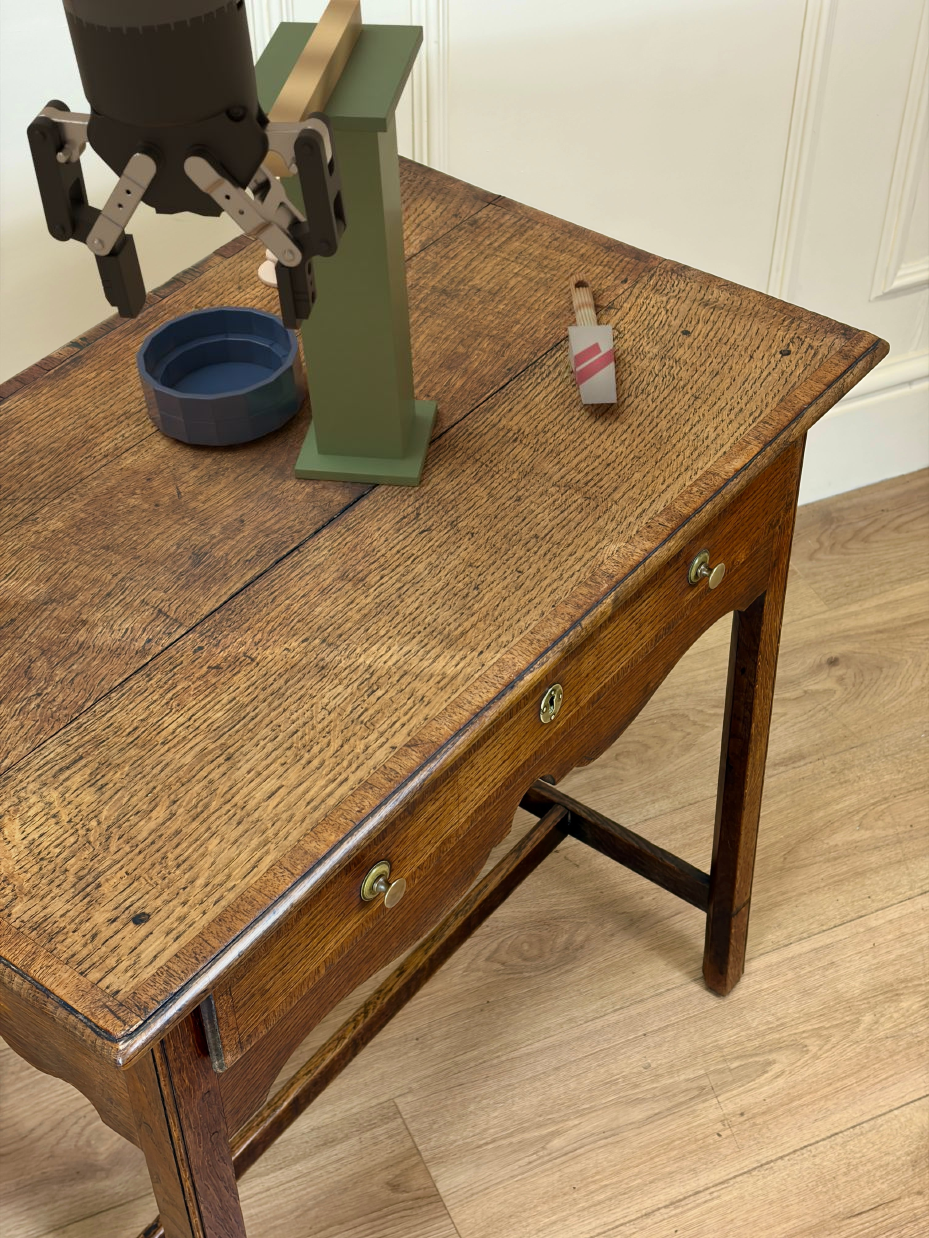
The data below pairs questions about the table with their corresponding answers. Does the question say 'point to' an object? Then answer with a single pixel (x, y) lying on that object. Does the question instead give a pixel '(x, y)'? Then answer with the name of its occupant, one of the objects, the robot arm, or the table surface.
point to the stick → (316, 70)
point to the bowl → (221, 375)
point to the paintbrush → (590, 347)
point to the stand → (359, 271)
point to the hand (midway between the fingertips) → (215, 315)
